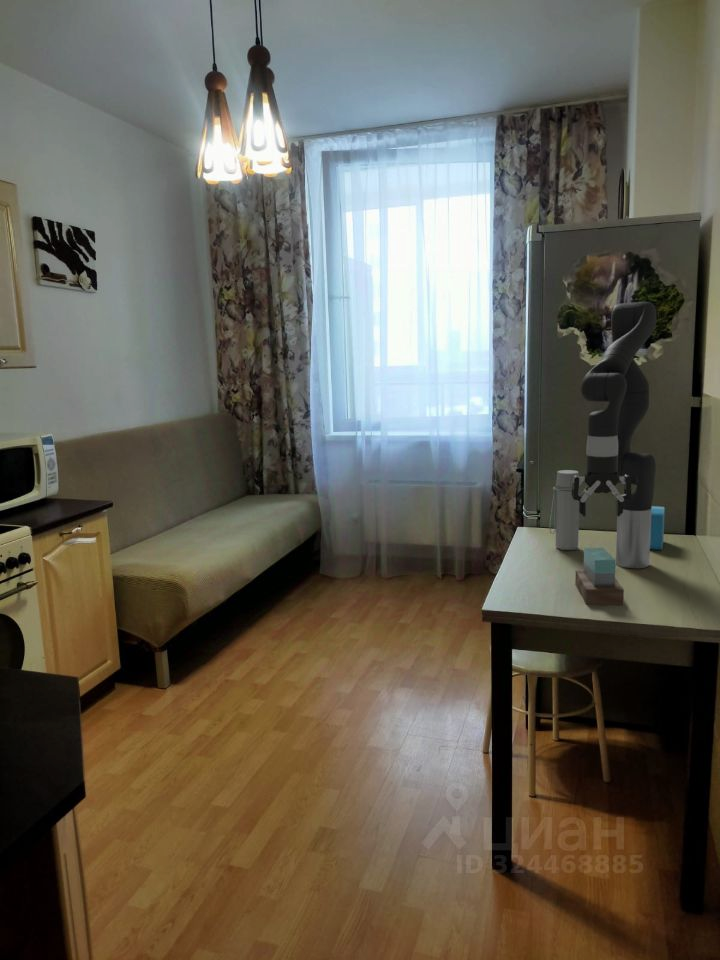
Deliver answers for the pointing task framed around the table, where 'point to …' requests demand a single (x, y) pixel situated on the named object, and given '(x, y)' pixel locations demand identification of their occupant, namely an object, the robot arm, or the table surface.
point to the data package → (657, 527)
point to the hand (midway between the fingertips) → (600, 515)
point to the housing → (599, 567)
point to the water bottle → (566, 511)
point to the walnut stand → (598, 592)
